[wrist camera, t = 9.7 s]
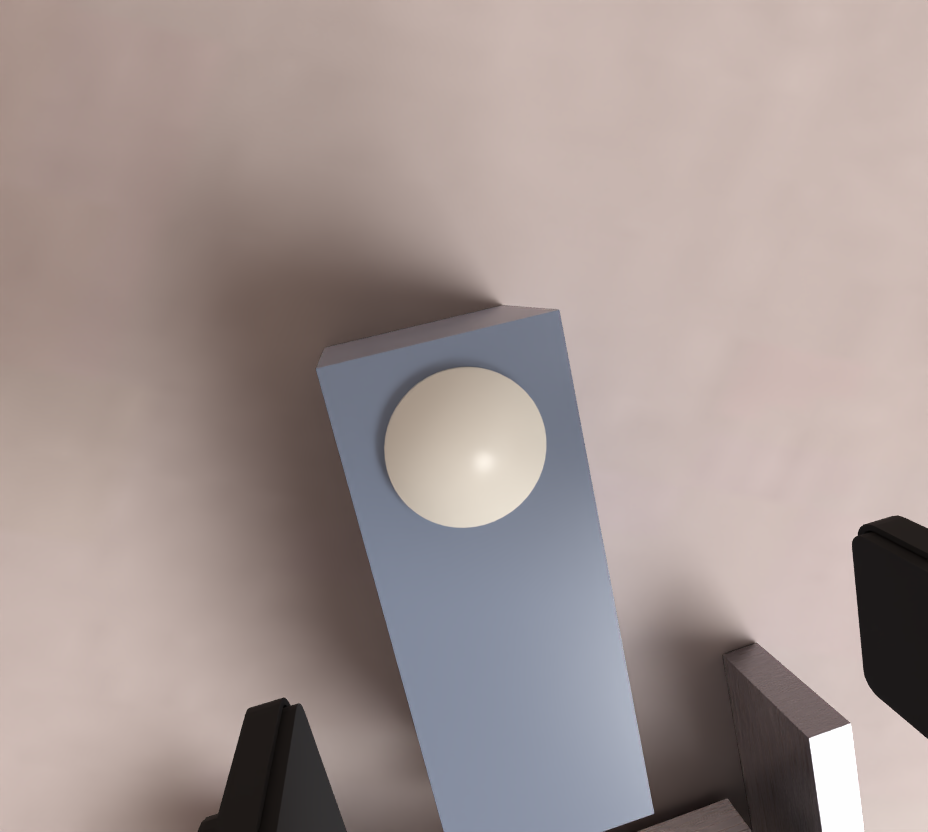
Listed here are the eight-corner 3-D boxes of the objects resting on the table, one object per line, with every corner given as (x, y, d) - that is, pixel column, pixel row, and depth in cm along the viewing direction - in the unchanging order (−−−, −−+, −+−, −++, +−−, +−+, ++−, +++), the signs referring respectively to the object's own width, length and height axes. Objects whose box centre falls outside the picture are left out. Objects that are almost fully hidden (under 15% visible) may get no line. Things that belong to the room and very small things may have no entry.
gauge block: (500, 305, 18) (562, 309, 13) (591, 743, 21) (670, 888, 16) (324, 347, 17) (315, 370, 12) (445, 792, 20) (477, 959, 15)
